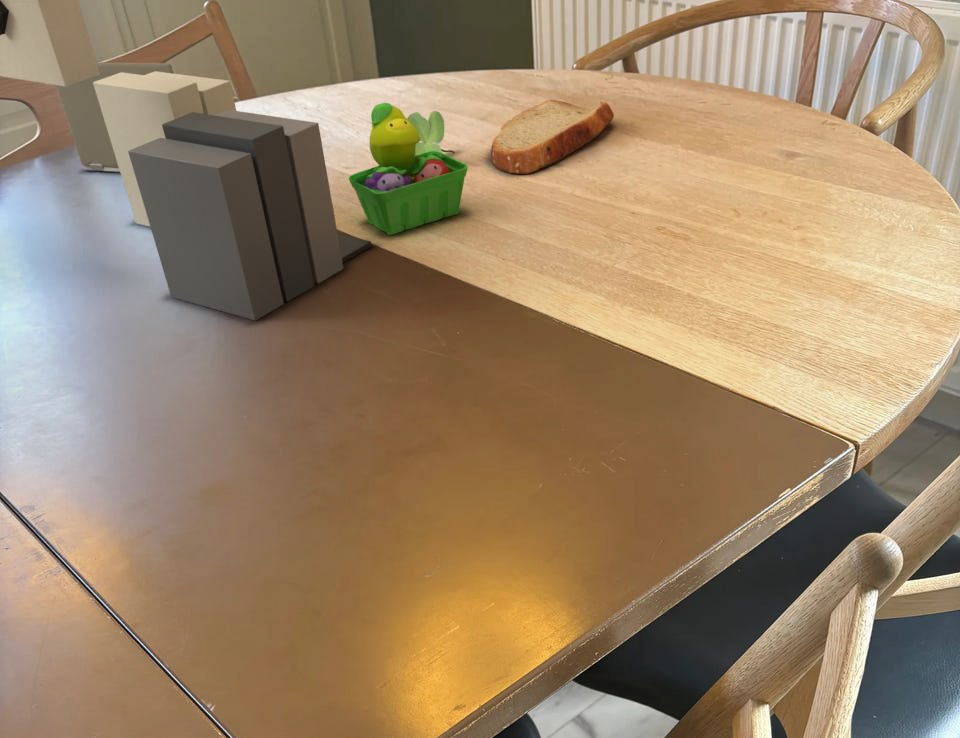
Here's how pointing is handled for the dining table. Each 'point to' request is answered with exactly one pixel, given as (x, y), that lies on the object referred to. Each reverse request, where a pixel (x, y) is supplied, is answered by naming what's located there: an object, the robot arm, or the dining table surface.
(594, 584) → the dining table surface
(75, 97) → the laptop
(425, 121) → the seedling
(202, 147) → the grey books
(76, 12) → the white book
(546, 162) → the bread slice
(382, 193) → the fruit basket
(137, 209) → the white books
